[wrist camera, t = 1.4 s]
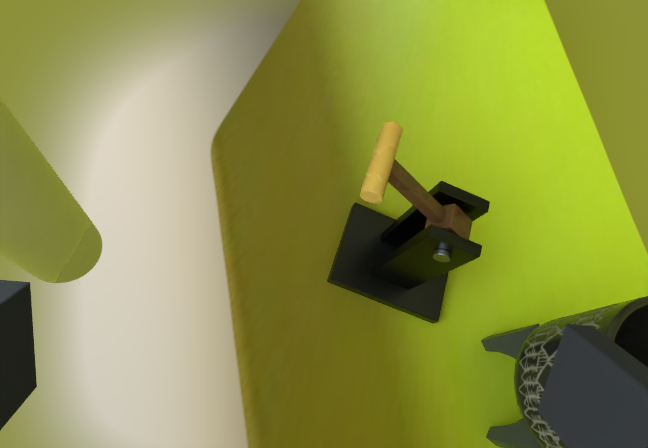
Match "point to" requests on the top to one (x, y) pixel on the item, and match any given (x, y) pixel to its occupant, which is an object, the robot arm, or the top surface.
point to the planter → (537, 358)
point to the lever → (407, 185)
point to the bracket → (405, 254)
